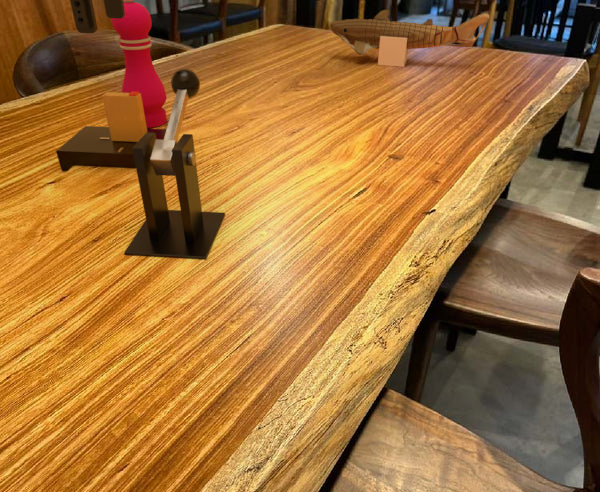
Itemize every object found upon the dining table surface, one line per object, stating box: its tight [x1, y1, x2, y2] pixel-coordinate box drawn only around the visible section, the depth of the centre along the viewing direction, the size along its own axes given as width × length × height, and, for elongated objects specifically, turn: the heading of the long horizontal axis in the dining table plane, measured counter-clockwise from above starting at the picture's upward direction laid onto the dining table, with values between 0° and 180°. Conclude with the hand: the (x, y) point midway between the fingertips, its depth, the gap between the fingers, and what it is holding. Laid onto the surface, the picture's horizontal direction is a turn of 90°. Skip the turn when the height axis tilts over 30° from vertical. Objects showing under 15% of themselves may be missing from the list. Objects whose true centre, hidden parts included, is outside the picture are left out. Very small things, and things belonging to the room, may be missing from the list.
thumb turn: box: [101, 91, 148, 142], centre depth 76 cm, size 5×2×7 cm, turn 85°
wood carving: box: [329, 9, 490, 68], centre depth 122 cm, size 9×35×11 cm, turn 74°
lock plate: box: [55, 125, 167, 172], centre depth 79 cm, size 14×10×3 cm
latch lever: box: [150, 68, 201, 177], centre depth 58 cm, size 14×3×3 cm, turn 175°
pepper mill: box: [110, 0, 168, 129], centre depth 87 cm, size 7×7×20 cm
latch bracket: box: [123, 133, 226, 261], centre depth 58 cm, size 10×9×12 cm
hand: (102, 24), depth 64 cm, fingers open, 8 cm apart
